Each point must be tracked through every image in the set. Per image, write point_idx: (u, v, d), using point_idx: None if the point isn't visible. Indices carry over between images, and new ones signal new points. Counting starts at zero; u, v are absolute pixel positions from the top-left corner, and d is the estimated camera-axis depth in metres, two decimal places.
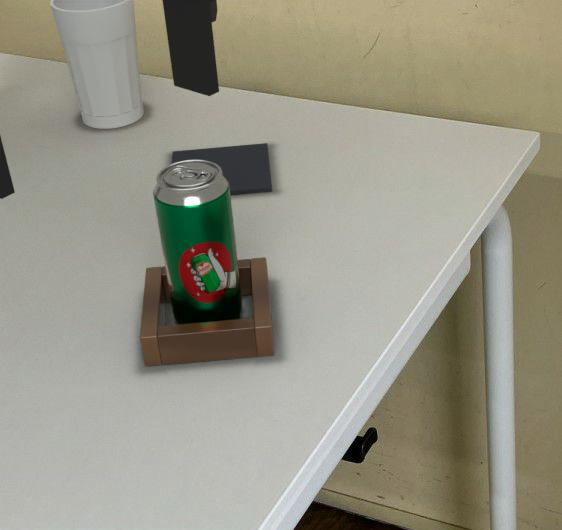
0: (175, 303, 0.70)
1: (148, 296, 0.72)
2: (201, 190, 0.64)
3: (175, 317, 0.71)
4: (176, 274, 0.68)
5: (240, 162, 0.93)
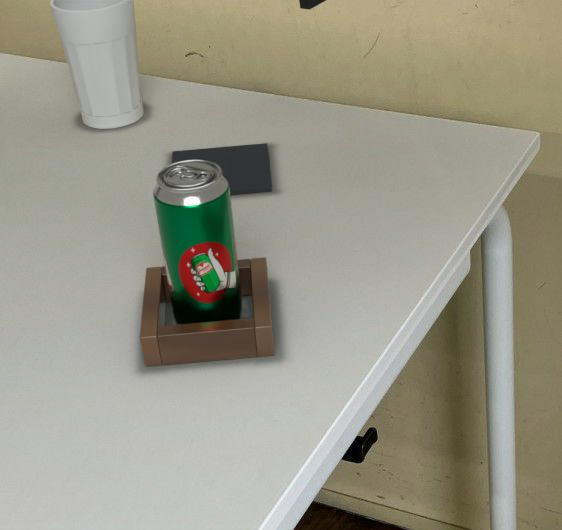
0: (175, 303, 0.70)
1: (148, 296, 0.72)
2: (200, 190, 0.64)
3: (175, 317, 0.71)
4: (176, 275, 0.68)
5: (240, 162, 0.93)
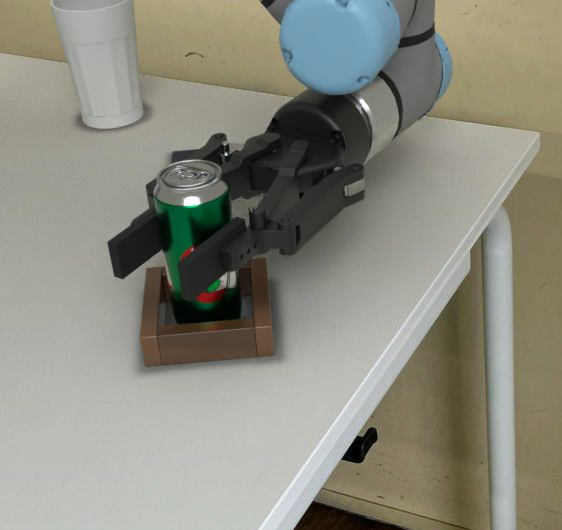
0: (175, 303, 0.70)
1: (148, 296, 0.72)
2: (200, 190, 0.64)
3: (175, 317, 0.71)
4: (176, 274, 0.68)
5: None
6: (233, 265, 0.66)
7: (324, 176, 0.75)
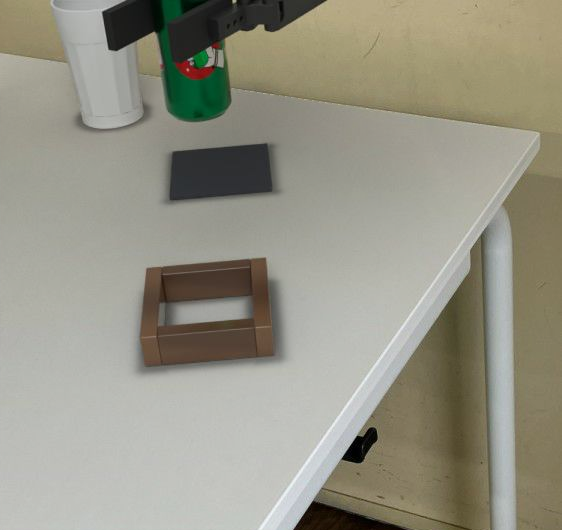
0: (166, 83, 0.74)
1: (148, 296, 0.72)
2: None
3: (166, 100, 0.75)
4: (167, 50, 0.72)
5: (240, 162, 0.93)
6: (220, 33, 0.70)
7: None
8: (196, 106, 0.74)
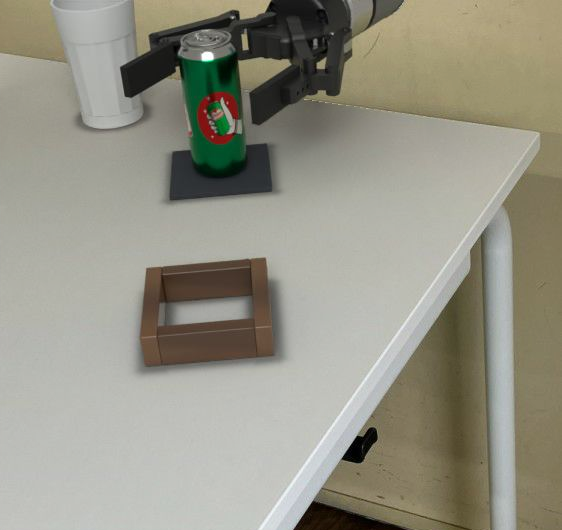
0: (194, 146, 0.89)
1: (148, 296, 0.72)
2: (215, 48, 0.83)
3: (193, 160, 0.90)
4: (195, 121, 0.87)
5: None
6: (291, 99, 0.83)
7: (311, 45, 0.93)
8: (219, 166, 0.89)
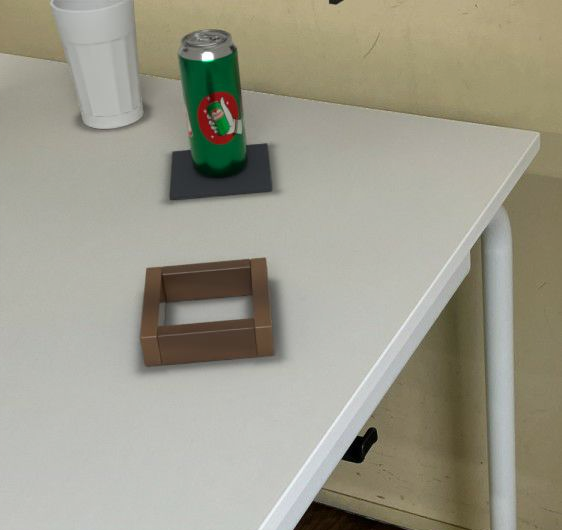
0: (194, 146, 0.89)
1: (148, 296, 0.72)
2: (215, 48, 0.83)
3: (193, 160, 0.90)
4: (195, 121, 0.87)
5: None
6: None
7: None
8: (219, 166, 0.89)
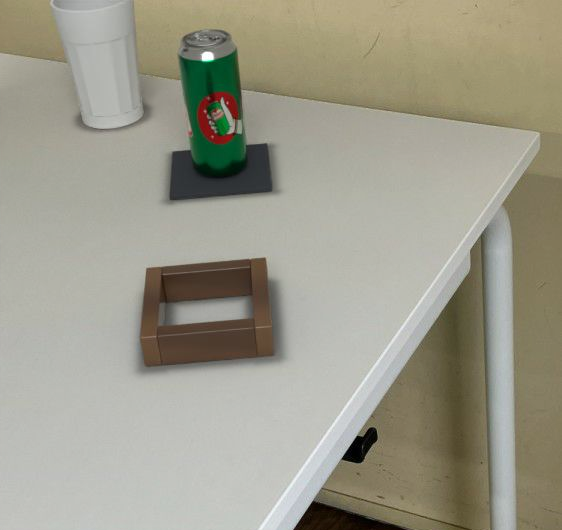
0: (194, 146, 0.89)
1: (148, 296, 0.72)
2: (215, 48, 0.83)
3: (193, 160, 0.90)
4: (195, 121, 0.87)
5: None
6: None
7: None
8: (219, 166, 0.89)
